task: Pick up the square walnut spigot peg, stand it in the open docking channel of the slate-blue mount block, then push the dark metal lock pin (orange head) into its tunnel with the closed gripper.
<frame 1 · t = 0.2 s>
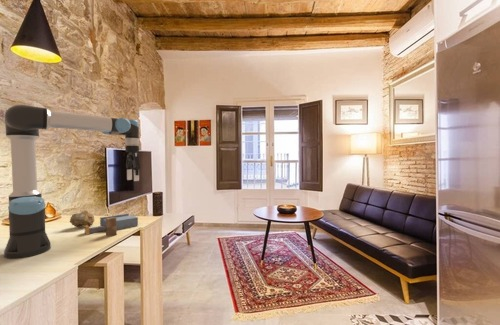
hand: (132, 180, 152), 27 cm above the table, fingers open, 13 cm apart
dock block: (118, 225, 152), on the table
spigot peg: (111, 234, 133), on the table
lock pin: (100, 227, 140), point 2 cm above the table, slide at 0.0 cm
rock: (83, 227, 150), on the table
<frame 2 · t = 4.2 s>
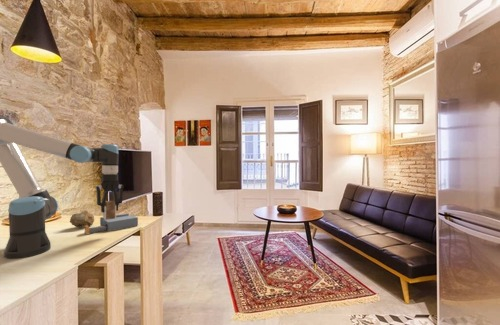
hand: (109, 217, 132), 9 cm above the table, fingers closed on spigot peg, 4 cm apart
spigot peg: (109, 218, 132), point 9 cm above the table, touching gripper
everything else where it was.
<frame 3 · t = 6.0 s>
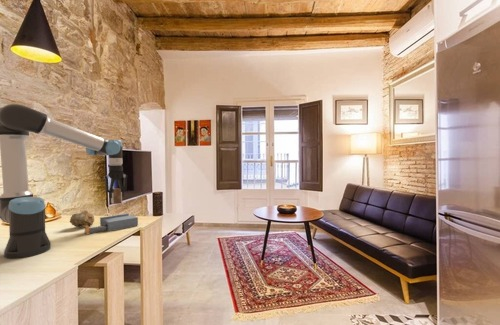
hand: (116, 202, 154), 13 cm above the table, fingers closed on spigot peg, 4 cm apart
spigot peg: (116, 203, 154), point 13 cm above the table, touching gripper
everything else where it was.
when the fingers open (2 cm above the table, at t = 8.3 s): spigot peg drops 1 cm, on the table.
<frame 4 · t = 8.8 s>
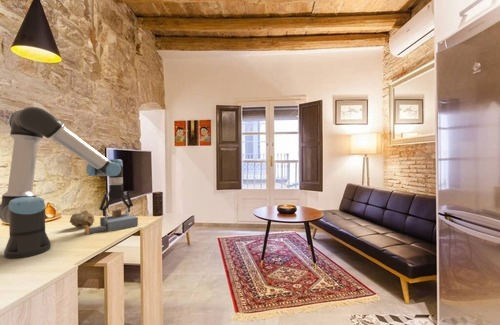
hand: (116, 219, 154), 3 cm above the table, fingers open, 11 cm apart
spigot peg: (117, 224, 154), on the table
everything else where it was.
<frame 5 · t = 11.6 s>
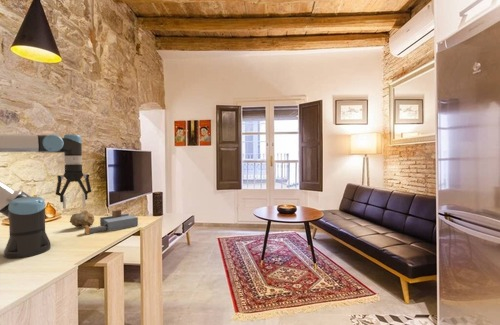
hand: (74, 207, 132), 15 cm above the table, fingers open, 8 cm apart
nothing on the table moved.
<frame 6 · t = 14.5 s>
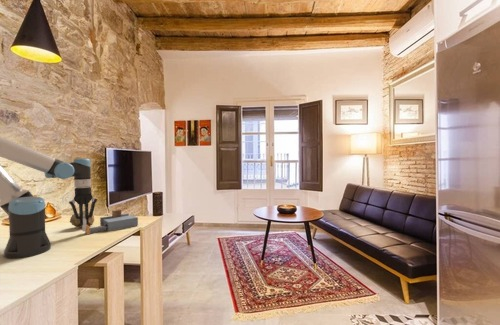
hand: (84, 230, 135), 2 cm above the table, fingers closed
lock pin: (100, 227, 140), point 2 cm above the table, slide at 0.2 cm, touching gripper
everything else where it was.
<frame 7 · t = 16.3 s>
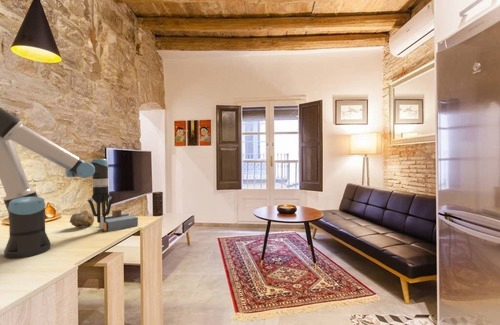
hand: (101, 228, 140), 2 cm above the table, fingers closed
lock pin: (116, 224, 146), point 2 cm above the table, slide at 8.4 cm, touching gripper
everything else where it was.
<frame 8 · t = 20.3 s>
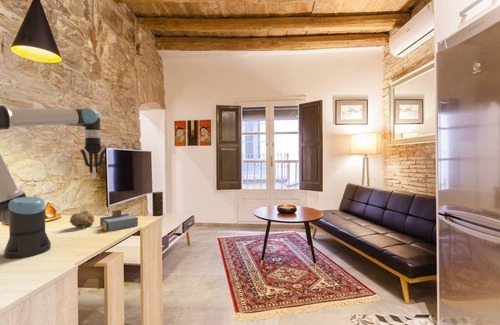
hand: (93, 178, 145), 29 cm above the table, fingers closed
lock pin: (116, 224, 146), point 2 cm above the table, slide at 8.4 cm
everything else where it was.
at the end: spigot peg inside the target area on the dock block (0.1 cm from its centre), point 0.0 cm above the dock block's base; spigot peg tilted 0°; lock pin slide at 8.4 cm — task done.
